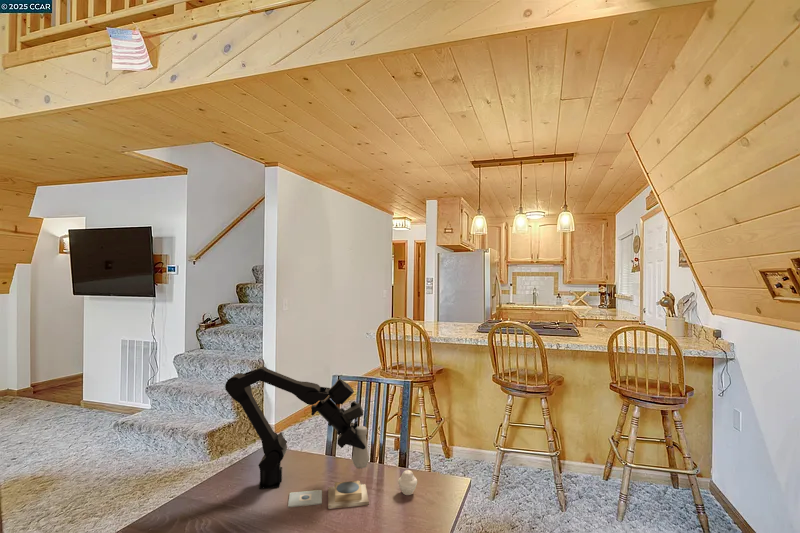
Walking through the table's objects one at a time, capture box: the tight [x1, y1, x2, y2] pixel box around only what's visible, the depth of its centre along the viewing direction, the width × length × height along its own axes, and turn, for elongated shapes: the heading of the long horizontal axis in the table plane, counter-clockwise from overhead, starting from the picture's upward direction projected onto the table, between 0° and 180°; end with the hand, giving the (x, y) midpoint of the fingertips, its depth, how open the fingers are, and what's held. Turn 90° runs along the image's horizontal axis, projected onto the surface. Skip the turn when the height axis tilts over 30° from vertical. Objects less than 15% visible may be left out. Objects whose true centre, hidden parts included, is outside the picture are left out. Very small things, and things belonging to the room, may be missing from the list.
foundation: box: [327, 480, 370, 510], centre depth 131 cm, size 12×11×3 cm
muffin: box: [397, 469, 418, 496], centre depth 134 cm, size 6×6×7 cm
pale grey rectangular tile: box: [287, 489, 323, 508], centre depth 130 cm, size 10×8×1 cm
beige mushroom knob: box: [351, 425, 370, 469], centre depth 143 cm, size 6×6×13 cm
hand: (364, 446), depth 143 cm, fingers closed on beige mushroom knob, 3 cm apart
